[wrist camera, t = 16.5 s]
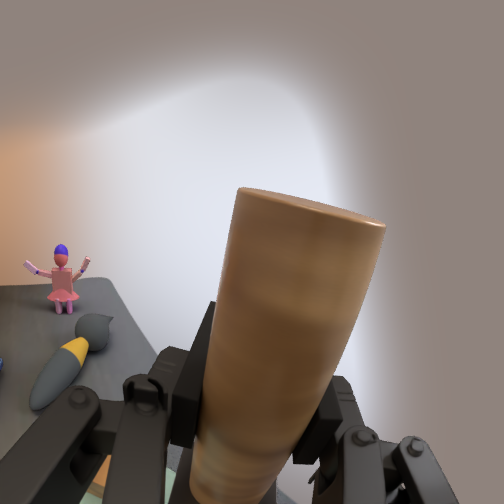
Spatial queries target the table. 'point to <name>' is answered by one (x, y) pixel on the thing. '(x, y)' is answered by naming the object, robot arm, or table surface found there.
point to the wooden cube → (100, 480)
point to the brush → (274, 340)
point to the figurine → (61, 278)
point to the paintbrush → (69, 359)
